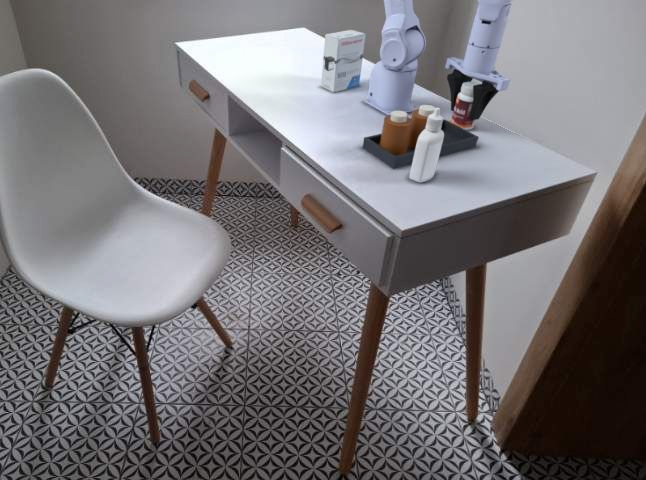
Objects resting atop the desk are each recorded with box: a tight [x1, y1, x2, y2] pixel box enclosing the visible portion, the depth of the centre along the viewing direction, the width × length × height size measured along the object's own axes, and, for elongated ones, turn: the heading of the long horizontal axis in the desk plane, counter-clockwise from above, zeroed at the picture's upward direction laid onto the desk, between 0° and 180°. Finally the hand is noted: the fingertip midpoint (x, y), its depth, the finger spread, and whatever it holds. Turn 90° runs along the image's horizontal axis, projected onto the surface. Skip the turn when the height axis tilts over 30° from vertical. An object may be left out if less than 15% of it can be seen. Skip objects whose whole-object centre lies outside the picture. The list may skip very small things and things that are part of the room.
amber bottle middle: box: [408, 104, 436, 149], centre depth 95 cm, size 5×5×7 cm
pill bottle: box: [450, 81, 480, 131], centre depth 104 cm, size 5×5×8 cm
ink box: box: [320, 29, 366, 93], centre depth 119 cm, size 8×5×12 cm, turn 128°
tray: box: [362, 118, 479, 169], centre depth 97 cm, size 9×20×2 cm, turn 119°
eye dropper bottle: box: [408, 107, 444, 184], centre depth 85 cm, size 4×6×12 cm
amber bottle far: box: [380, 111, 413, 156], centre depth 93 cm, size 5×5×7 cm
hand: (464, 114), depth 105 cm, fingers closed on pill bottle, 5 cm apart
